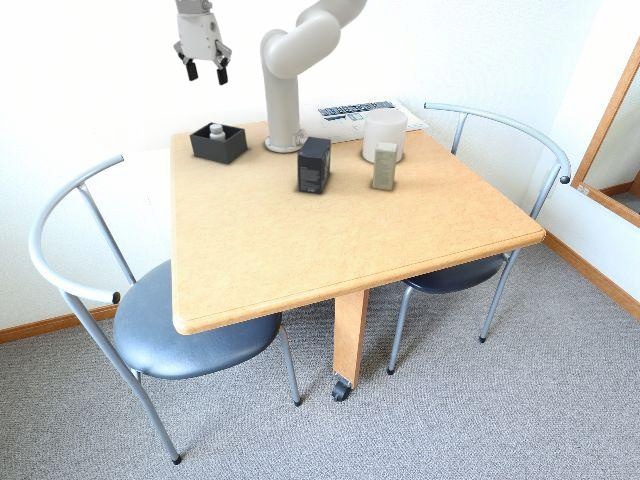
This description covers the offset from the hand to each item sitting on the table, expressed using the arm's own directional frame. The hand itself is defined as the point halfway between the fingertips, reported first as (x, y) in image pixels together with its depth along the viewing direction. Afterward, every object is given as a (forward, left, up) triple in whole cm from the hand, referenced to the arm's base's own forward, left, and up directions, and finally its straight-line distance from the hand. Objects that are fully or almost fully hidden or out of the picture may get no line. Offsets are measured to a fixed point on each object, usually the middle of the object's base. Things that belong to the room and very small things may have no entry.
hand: (208, 81), depth 98 cm
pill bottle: (0, +1, -20) cm, 20 cm away
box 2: (-50, -1, -21) cm, 54 cm away
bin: (0, +1, -21) cm, 21 cm away
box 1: (-33, +5, -21) cm, 39 cm away
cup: (-45, -17, -21) cm, 53 cm away
